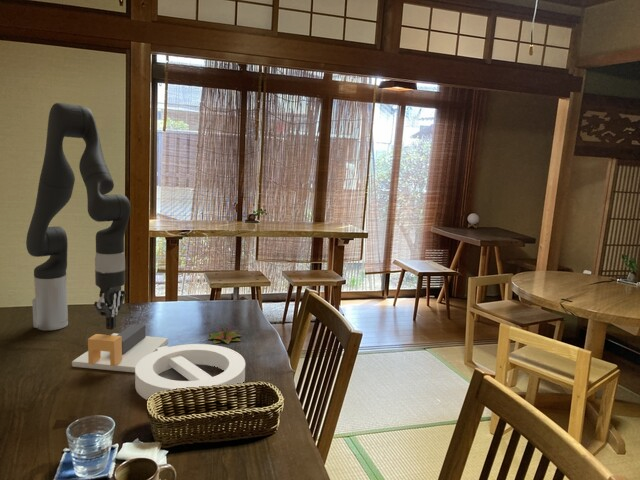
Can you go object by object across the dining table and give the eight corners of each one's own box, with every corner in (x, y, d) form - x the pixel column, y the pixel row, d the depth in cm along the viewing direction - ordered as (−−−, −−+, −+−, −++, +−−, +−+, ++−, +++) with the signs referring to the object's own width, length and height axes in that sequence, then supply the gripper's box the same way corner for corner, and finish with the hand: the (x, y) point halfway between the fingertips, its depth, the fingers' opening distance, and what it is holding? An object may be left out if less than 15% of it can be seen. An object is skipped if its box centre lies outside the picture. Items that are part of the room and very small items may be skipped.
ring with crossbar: (158, 356, 144) (158, 341, 143) (252, 362, 144) (253, 347, 143) (116, 403, 117) (115, 385, 116) (232, 411, 116) (233, 392, 115)
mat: (72, 366, 134) (72, 361, 134) (113, 337, 156) (113, 333, 155) (135, 372, 132) (135, 367, 132) (168, 342, 154) (168, 338, 154)
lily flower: (246, 344, 157) (247, 330, 156) (209, 348, 153) (209, 334, 152) (238, 331, 168) (239, 318, 167) (203, 334, 164) (203, 321, 163)
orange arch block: (88, 363, 132) (87, 339, 131) (96, 357, 136) (96, 333, 135) (114, 366, 132) (114, 341, 130) (122, 360, 136) (121, 336, 134)
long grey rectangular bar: (110, 353, 140) (109, 340, 139) (133, 336, 154) (133, 324, 153) (123, 354, 140) (123, 341, 139) (145, 337, 153) (145, 325, 153)
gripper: (109, 261, 140) (110, 319, 143) (83, 272, 127) (84, 335, 130) (135, 263, 139) (135, 321, 142) (110, 275, 126) (111, 338, 129)
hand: (111, 328), depth 136 cm, fingers closed
